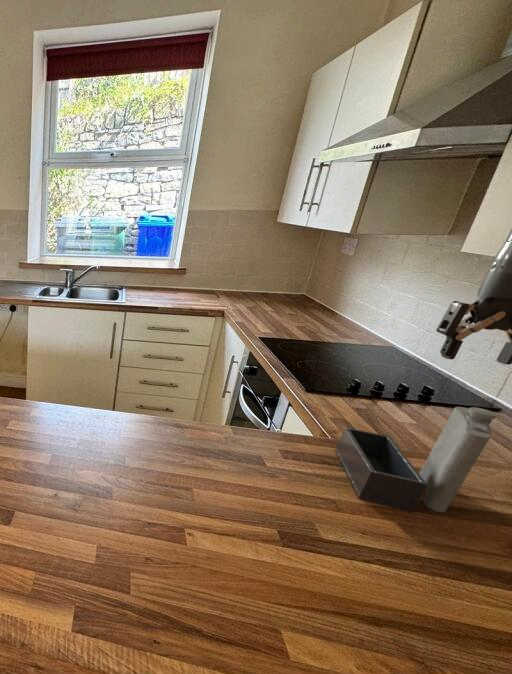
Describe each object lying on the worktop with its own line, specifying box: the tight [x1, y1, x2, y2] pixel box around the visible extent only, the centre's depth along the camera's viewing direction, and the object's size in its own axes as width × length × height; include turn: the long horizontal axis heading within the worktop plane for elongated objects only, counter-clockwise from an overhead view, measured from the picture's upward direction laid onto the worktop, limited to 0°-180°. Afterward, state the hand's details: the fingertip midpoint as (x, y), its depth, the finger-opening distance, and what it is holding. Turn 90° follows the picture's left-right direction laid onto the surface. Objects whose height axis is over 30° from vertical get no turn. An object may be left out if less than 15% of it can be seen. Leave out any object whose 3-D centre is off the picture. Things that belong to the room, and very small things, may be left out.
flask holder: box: [334, 426, 427, 513], centre depth 89 cm, size 9×21×7 cm, turn 153°
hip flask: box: [418, 406, 498, 513], centre depth 82 cm, size 16×4×20 cm, turn 139°
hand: (474, 360), depth 74 cm, fingers open, 8 cm apart
